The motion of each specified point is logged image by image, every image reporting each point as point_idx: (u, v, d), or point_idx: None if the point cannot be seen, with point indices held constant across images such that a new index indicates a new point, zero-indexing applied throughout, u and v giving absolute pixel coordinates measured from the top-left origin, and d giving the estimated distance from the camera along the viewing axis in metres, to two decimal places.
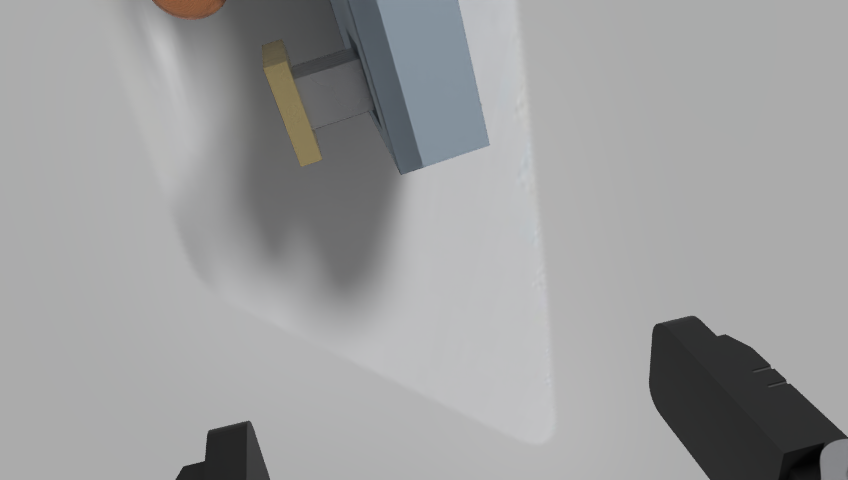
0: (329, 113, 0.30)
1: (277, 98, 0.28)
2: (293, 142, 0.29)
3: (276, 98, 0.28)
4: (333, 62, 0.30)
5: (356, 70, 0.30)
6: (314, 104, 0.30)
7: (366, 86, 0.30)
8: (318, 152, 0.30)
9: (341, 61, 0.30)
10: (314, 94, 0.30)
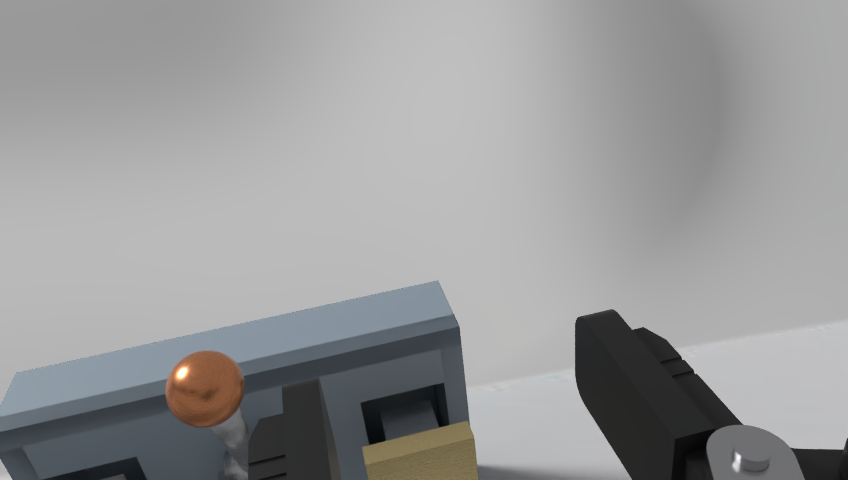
0: None
1: (397, 455, 0.27)
2: (446, 442, 0.28)
3: (397, 455, 0.27)
4: None
5: (389, 413, 0.31)
6: None
7: (406, 405, 0.31)
8: (459, 424, 0.29)
9: None
10: None
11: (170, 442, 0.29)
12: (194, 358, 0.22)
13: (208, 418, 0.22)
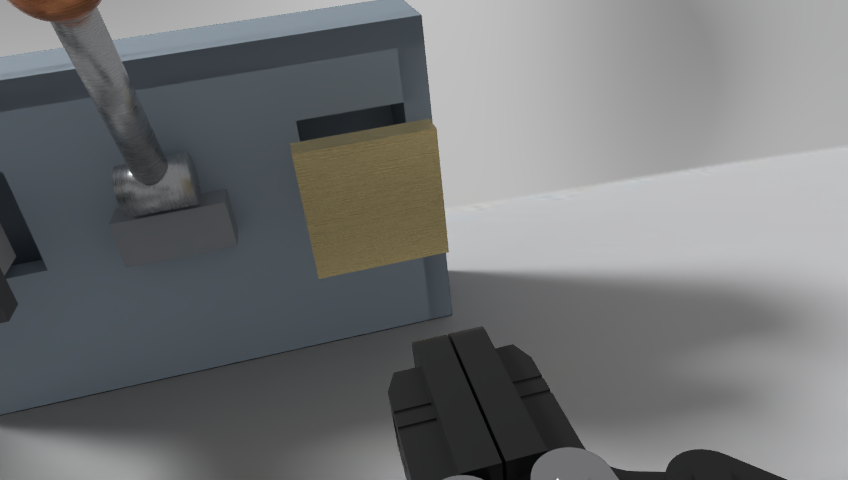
0: None
1: (335, 146, 0.21)
2: (399, 134, 0.21)
3: (334, 146, 0.21)
4: None
5: None
6: None
7: None
8: (418, 122, 0.22)
9: None
10: None
11: (46, 154, 0.23)
12: None
13: None
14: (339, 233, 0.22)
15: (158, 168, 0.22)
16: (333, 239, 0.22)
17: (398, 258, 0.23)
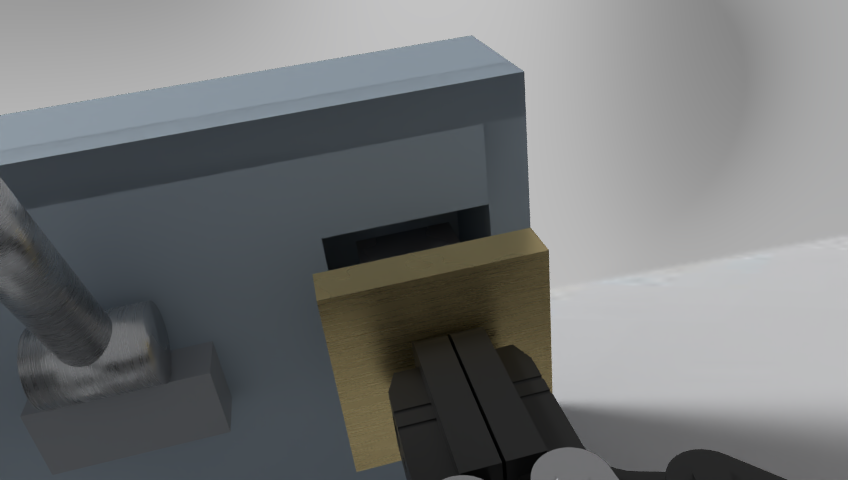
0: None
1: (386, 283, 0.13)
2: (489, 260, 0.13)
3: (386, 284, 0.13)
4: None
5: (374, 243, 0.16)
6: None
7: (405, 231, 0.17)
8: (514, 233, 0.14)
9: None
10: None
11: None
12: None
13: None
14: (390, 408, 0.14)
15: (93, 341, 0.13)
16: (381, 417, 0.14)
17: None
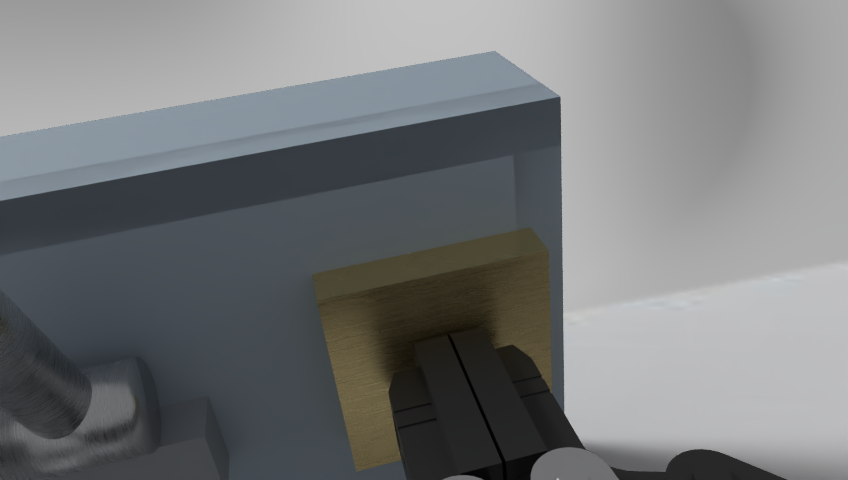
0: None
1: (386, 283, 0.13)
2: (489, 260, 0.13)
3: (386, 284, 0.13)
4: None
5: None
6: None
7: None
8: (514, 233, 0.14)
9: None
10: None
11: None
12: None
13: None
14: (390, 408, 0.14)
15: (69, 411, 0.11)
16: (381, 416, 0.14)
17: None
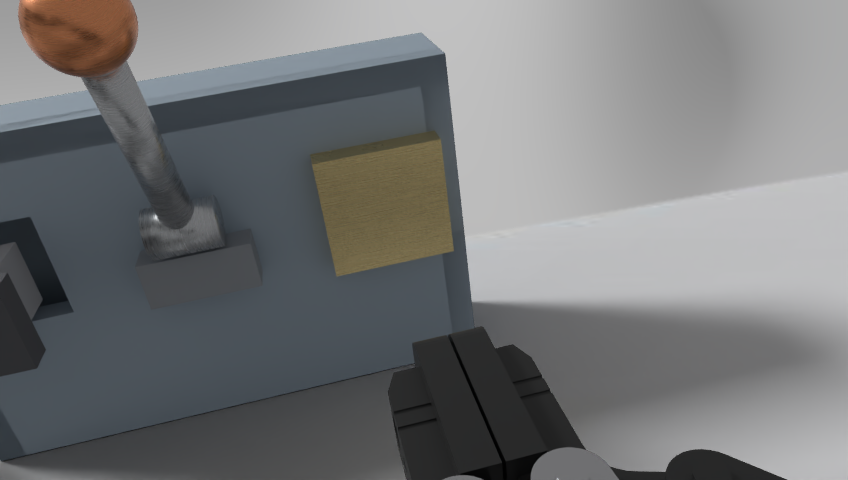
0: None
1: (350, 156, 0.23)
2: (407, 144, 0.24)
3: (350, 156, 0.23)
4: None
5: None
6: None
7: None
8: (425, 133, 0.24)
9: None
10: None
11: (73, 198, 0.23)
12: None
13: (76, 42, 0.15)
14: (355, 234, 0.25)
15: (184, 212, 0.22)
16: (350, 240, 0.25)
17: (408, 257, 0.26)
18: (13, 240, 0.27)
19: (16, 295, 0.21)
